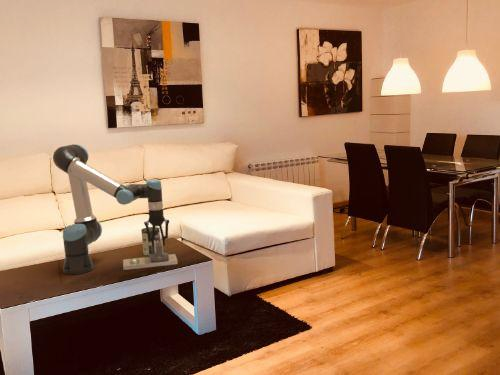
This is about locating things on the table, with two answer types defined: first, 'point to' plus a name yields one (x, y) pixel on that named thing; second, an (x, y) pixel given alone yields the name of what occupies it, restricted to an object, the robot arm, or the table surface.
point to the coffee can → (148, 243)
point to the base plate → (147, 262)
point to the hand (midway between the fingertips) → (158, 251)
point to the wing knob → (159, 254)
